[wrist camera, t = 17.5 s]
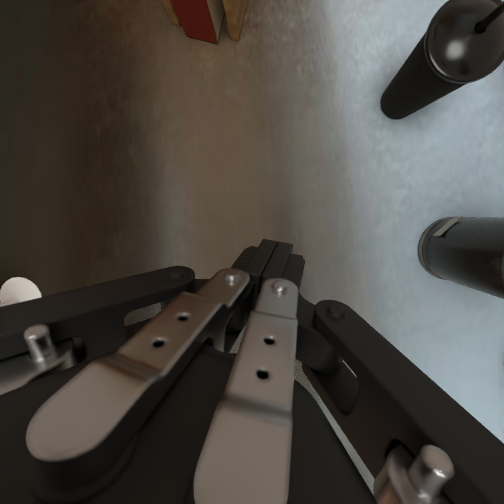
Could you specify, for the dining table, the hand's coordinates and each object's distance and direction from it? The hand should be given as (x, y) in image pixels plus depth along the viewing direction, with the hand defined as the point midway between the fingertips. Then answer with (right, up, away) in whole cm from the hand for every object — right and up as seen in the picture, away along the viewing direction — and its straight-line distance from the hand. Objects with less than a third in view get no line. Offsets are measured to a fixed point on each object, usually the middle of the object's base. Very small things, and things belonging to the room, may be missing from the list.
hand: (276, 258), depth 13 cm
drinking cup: (+20, +22, +25) cm, 38 cm away
